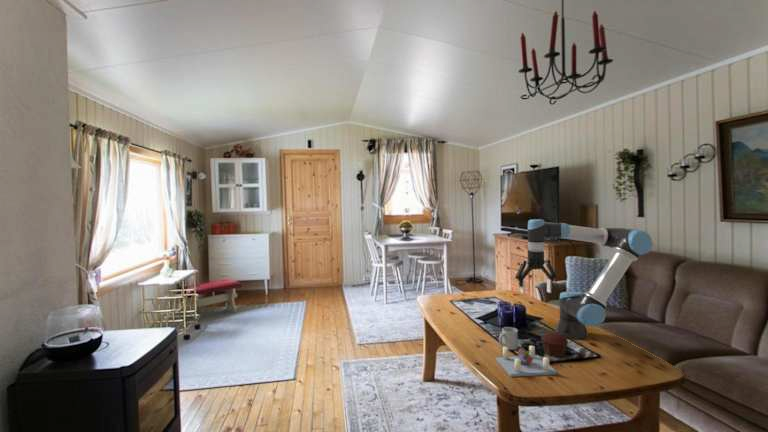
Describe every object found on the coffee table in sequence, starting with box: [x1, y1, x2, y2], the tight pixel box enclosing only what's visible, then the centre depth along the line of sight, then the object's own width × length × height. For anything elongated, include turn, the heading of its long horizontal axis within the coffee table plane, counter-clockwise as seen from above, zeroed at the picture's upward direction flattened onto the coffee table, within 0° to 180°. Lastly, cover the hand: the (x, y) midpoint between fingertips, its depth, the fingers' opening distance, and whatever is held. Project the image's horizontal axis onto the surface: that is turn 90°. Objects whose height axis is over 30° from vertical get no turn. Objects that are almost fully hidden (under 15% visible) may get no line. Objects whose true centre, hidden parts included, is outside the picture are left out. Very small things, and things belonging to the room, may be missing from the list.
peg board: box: [495, 345, 558, 378], centre depth 158 cm, size 20×16×6 cm
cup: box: [498, 326, 519, 351], centre depth 179 cm, size 7×10×9 cm
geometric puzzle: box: [515, 347, 534, 366], centre depth 158 cm, size 7×7×8 cm
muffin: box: [541, 330, 569, 358], centre depth 172 cm, size 12×11×10 cm
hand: (535, 292), depth 181 cm, fingers open, 13 cm apart
